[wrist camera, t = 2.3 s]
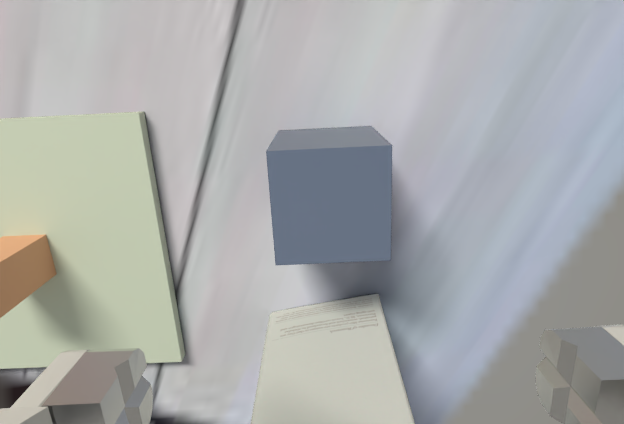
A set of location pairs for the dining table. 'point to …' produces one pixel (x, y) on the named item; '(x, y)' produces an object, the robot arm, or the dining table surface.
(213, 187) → the dining table surface
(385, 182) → the blue-grey block
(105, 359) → the robot arm
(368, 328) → the supplement box
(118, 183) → the post board
